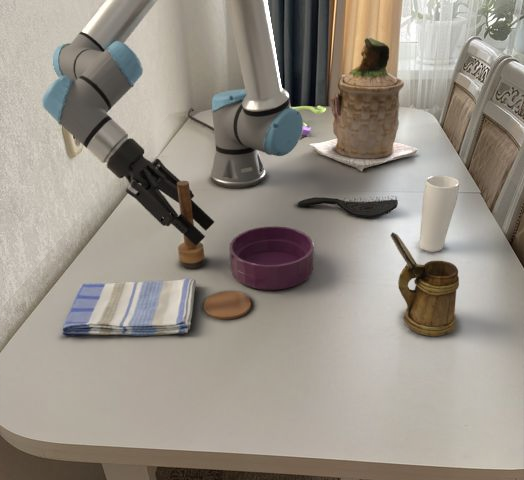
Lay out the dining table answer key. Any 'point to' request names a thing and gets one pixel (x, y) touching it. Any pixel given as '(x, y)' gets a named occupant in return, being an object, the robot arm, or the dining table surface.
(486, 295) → the dining table surface
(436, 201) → the white tumbler
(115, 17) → the robot arm
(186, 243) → the dish brush
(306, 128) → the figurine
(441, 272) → the wooden mug
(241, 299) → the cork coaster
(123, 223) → the dining table surface
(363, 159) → the cookie jar
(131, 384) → the dining table surface
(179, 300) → the dish towel
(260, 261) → the bowl
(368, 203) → the hairbrush
